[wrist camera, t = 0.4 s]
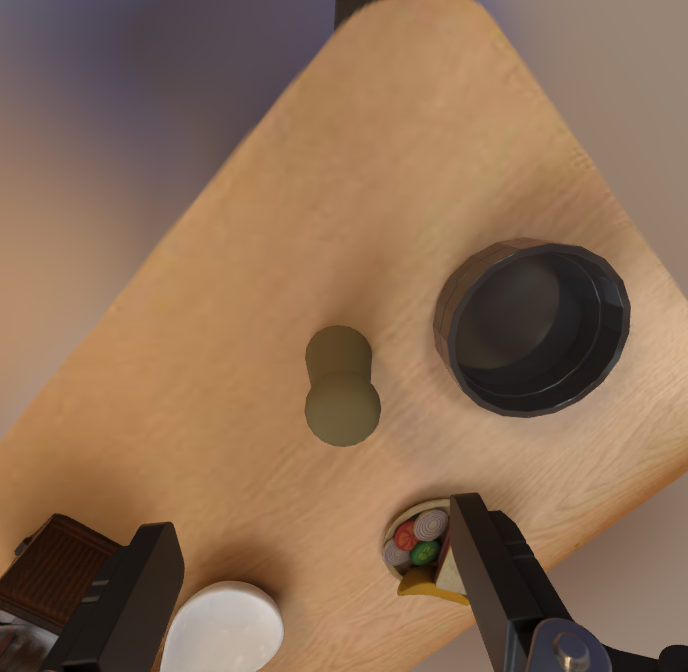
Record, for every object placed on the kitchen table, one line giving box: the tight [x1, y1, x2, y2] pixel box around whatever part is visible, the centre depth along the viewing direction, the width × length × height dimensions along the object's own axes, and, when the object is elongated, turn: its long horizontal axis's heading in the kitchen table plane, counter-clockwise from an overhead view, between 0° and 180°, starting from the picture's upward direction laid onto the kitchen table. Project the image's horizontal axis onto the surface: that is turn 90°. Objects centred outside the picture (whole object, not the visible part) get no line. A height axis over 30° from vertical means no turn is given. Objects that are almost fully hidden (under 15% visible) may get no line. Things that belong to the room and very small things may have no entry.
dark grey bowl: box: [433, 238, 631, 418], centre depth 33 cm, size 14×14×5 cm
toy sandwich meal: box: [382, 499, 470, 605], centre depth 41 cm, size 12×14×5 cm
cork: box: [305, 326, 381, 447], centre depth 30 cm, size 6×6×11 cm
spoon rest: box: [160, 581, 285, 672], centre depth 43 cm, size 24×12×7 cm, turn 141°
